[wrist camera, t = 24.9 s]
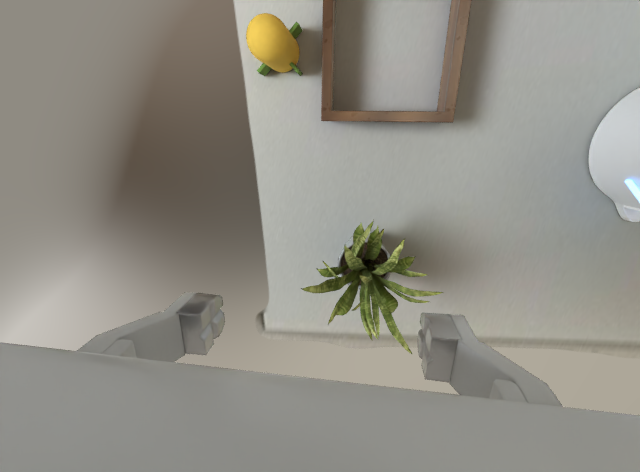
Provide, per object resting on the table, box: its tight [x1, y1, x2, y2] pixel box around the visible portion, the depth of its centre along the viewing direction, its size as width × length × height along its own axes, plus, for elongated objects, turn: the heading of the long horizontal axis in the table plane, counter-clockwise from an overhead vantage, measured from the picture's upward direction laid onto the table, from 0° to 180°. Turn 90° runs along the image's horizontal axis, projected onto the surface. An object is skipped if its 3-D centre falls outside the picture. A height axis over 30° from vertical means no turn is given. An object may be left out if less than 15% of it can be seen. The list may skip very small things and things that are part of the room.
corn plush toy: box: [246, 13, 303, 76], centre depth 34 cm, size 5×5×8 cm
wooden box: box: [321, 0, 472, 122], centre depth 34 cm, size 15×18×5 cm
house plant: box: [301, 219, 443, 354], centre depth 38 cm, size 14×14×16 cm
